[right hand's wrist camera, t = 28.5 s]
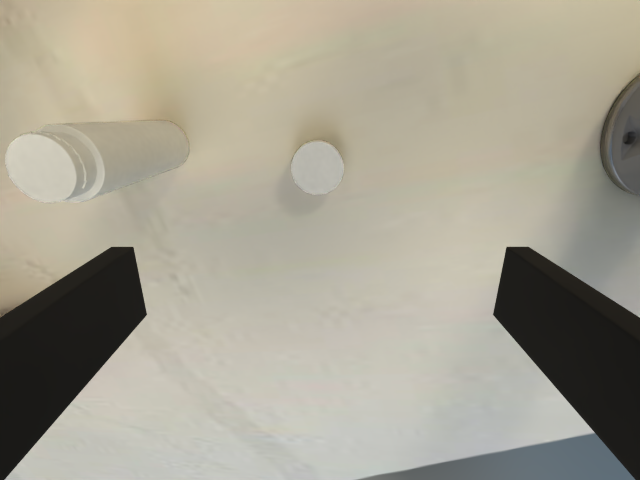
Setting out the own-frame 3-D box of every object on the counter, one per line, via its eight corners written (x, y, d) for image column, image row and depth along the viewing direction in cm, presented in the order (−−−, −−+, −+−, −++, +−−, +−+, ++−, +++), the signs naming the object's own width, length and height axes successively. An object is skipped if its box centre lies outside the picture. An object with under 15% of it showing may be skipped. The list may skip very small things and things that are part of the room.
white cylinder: (319, 200, 41) (319, 205, 39) (282, 167, 40) (279, 170, 38) (353, 164, 40) (355, 167, 37) (315, 128, 38) (315, 129, 36)
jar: (177, 114, 38) (56, 113, 20) (196, 161, 40) (99, 198, 22) (133, 127, 38) (-22, 139, 21) (154, 174, 40) (26, 220, 23)
